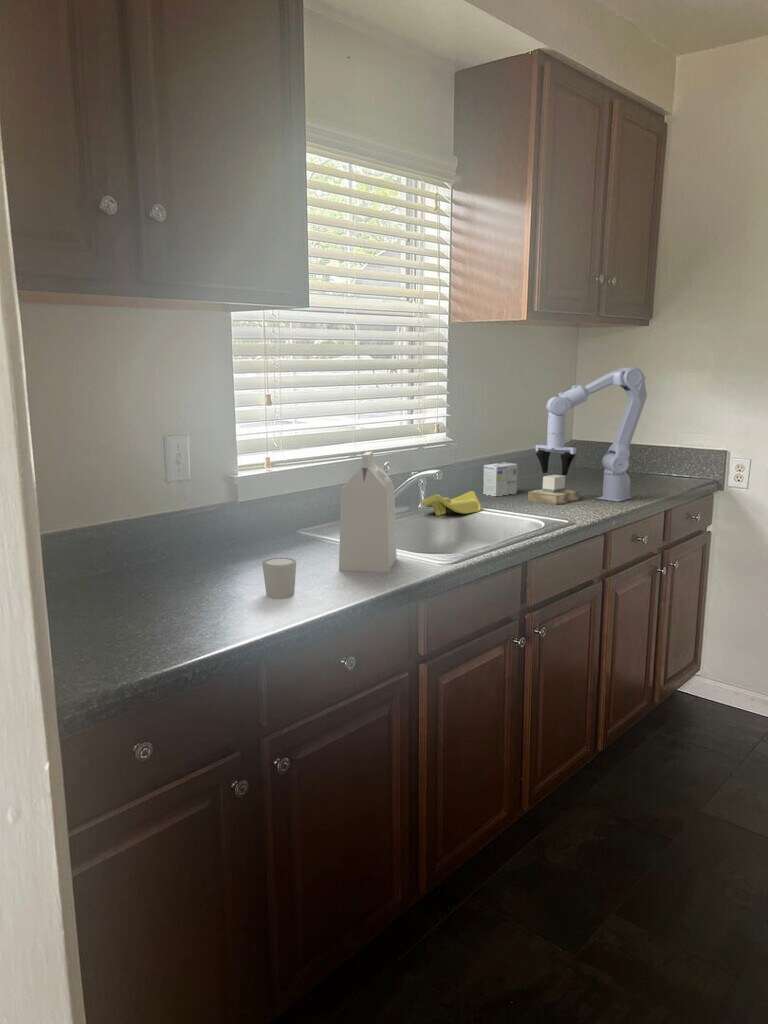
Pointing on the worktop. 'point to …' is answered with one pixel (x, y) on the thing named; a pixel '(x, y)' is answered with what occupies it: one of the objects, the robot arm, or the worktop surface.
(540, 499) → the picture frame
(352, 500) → the milk
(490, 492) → the light bulb box
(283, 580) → the shot glass
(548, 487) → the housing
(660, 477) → the worktop surface
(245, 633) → the worktop surface
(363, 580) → the worktop surface
